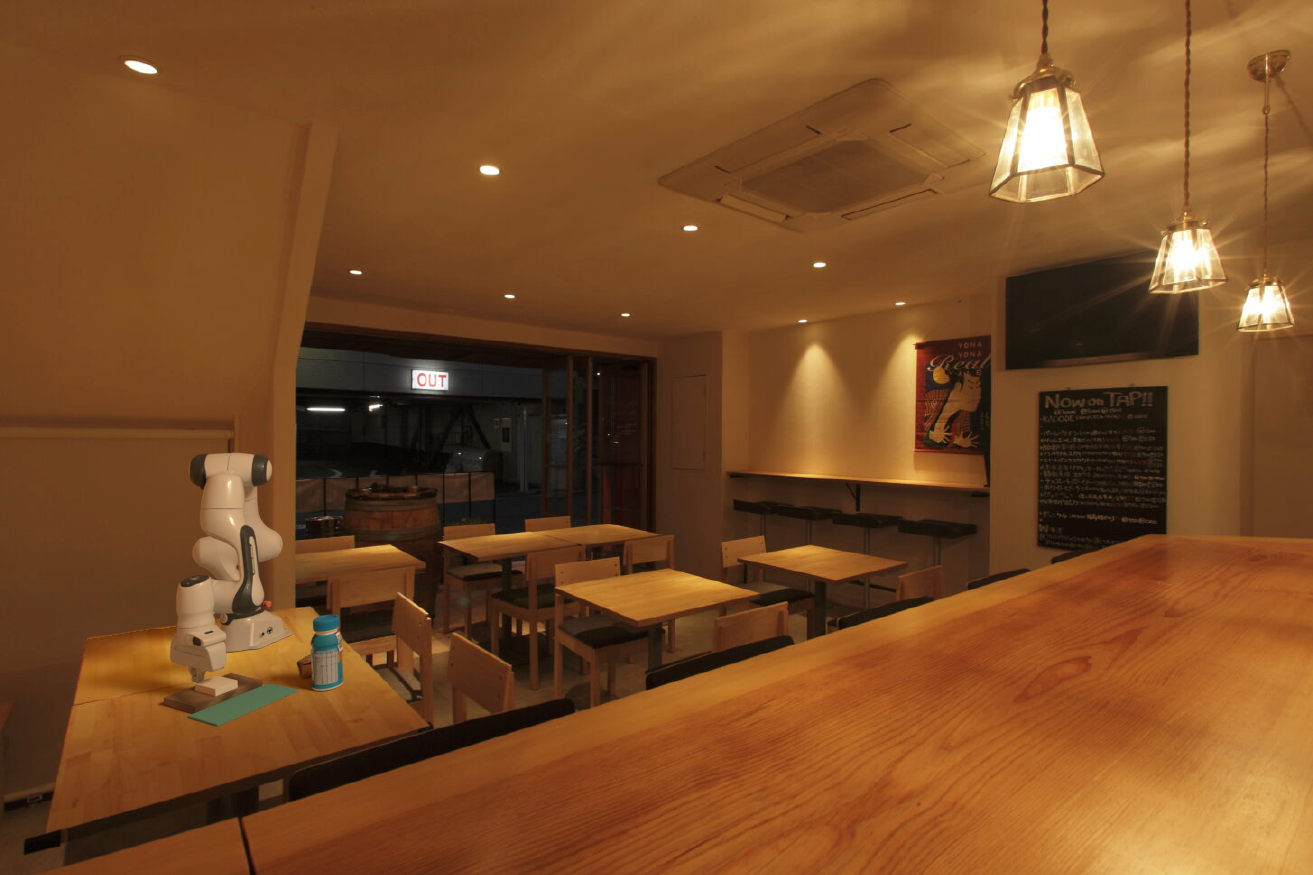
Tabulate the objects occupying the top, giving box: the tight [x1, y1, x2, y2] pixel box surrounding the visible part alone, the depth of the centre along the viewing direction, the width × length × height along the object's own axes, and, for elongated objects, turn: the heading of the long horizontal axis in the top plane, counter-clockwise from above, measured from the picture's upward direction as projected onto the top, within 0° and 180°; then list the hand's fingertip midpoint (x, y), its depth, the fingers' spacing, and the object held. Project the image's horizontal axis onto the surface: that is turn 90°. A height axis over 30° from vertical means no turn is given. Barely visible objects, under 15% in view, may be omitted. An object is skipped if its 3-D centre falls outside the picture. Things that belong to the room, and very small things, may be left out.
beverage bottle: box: [309, 614, 344, 692], centre depth 182 cm, size 8×8×20 cm
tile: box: [194, 675, 238, 696], centre depth 176 cm, size 6×9×2 cm, turn 66°
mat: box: [187, 682, 298, 727], centre depth 172 cm, size 22×12×1 cm, turn 156°
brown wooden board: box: [163, 672, 263, 714], centre depth 177 cm, size 18×14×2 cm
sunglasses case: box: [296, 654, 312, 681], centre depth 196 cm, size 18×7×7 cm, turn 36°
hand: (197, 681), depth 180 cm, fingers closed
